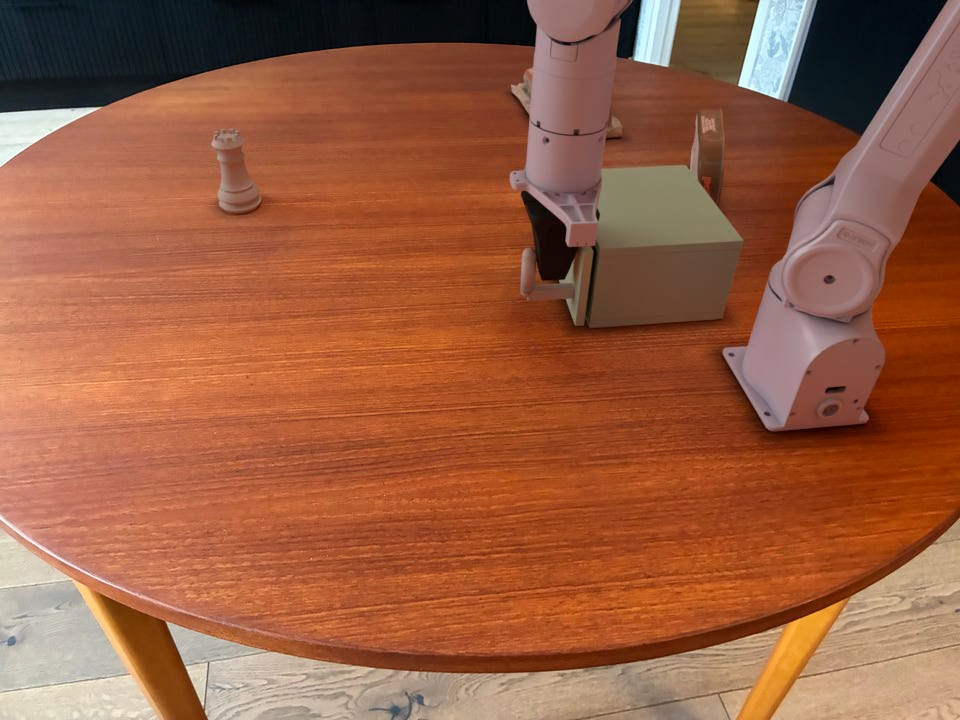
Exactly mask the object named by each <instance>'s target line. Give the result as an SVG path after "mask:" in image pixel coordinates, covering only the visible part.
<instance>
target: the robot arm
mask: <svg viewBox="0 0 960 720" xmlns="http://www.w3.org/2000/svg"><path fill="white" fill-rule="evenodd" d="M526 2H527V7H528V10H529V14H530V16H531V18H532V19H533V21H534V22H535V24H536V34H535V48H534V54H533V64H532V67H533V77H532V90H531V104H530V115H529V119H528V120H529V121H528V133H527V146H526V147H527V148H526V159H525V160H526V161H525V166H524V168H523V169H521V170H513V171H511V172H509V183H510V186H511V189H512V190H514V191H517V192H520V197H521V200H522V202H523V206H524V208H525V212H526V214H527V217H528V220H529V222H530V225H531V231H532V236H533V243H534V250H535V251H536V253H537V260H536V268H537V270H538V274H539V277H540V280H541V281H542V282H549V281H551V282H552V281H559V280H564V279H565V278H566V276H567V274H568V272H569V270H570V267H571V265H572V262H573V260H574V257H575V255H576V253H577V251H578V249H579V247H582V246H595V242H596V235H597V229H598V221H599V217H600V212H599V210H598V208H597V206H598V201H599V196H600V192H601V187H602V175H601V169H603V160H604V153H605V146H606V139H607V138H606V133H607V126H608V118H609V111H610V104H611V103H612V98H613V97H612V96H613V91H614V83H615V75H616V68H617V61H618V60H617V59H618V58H617V57H618V56H617V52H618V51H617V50H618V43H619V37H620V29H621V21H622V19H621V18H620V16H621V14H622V13H623V12H624V11H626V10H627V9H628V7H629V6H630V5H631V4H632V2H633V0H526ZM611 105H612V104H611ZM959 141H960V0H947V1H946V2H945V4H944V5H943V8H942V9H941V11H939V13H938V15H937V17H936V18H935V20H934V22H933V23H932V24H931V26H930V28H929V29H928V31H927V33H926V34H925V35H924V37H923V39H922V40H921V42H920V44H919V45H918V46H917V48H916V50H915V52H914V53H913V55H912V56H911V58H910V59H909V61H908V63H907V64H906V65H905V67H904V69H903V71H902V72H901V73H900V75H899V77H898V79H897V80H896V82H895V83H894V85H893V86H892V88H891V89H890V91H889V93H888V94H887V96H886V97H885V99H884V101H883V102H882V104H881V105H880V107H879V109H878V110H877V111H876V113H875V115H874V116H873V118H872V120H871V121H870V123H869V124H868V125H867V128H866V129H865V131H864V132H863V134H862V135H861V137H860V138H859V140H858V142H857V143H856V145H855V146H854V147H852V148H851V149H850V150H849V151H847V153H845V154H844V155H843V156H842V158H841V159H840V160H839V162H838V164H837V165H836V167H835V168H834V170H833V171H832V172H831V173H830V175H828V176H827V177H826V178H824V179H823V180H821V181H820V182H819V183H817V184H816V185H814V186H812V187H811V188H809V189H808V190H807V191H806V192H805V193H804V194H803V195H802V196H801V198H800V199H799V200H798V202H797V204H796V207H795V210H794V214H793V226H792V230H791V233H790V238H789V241H788V244H787V249H786V252H785V254H784V255H783V257H782V258H781V259H780V260H779V261H777V262H776V263H775V264H774V265H772V267H771V269H770V271H769V275H768V278H767V282H766V284H765V287H764V291H763V295H762V297H761V301H760V304H759V307H758V311H757V313H756V316H755V320H754V323H753V327H752V329H751V333H750V337H749V340H748V343H747V345H744V346H743V345H742V346H728V347H724V348H723V349H722V353H721V354H722V356H723V358H724V359H725V361H726V363H727V365H728V366H729V368H730V369H731V371H732V373H733V375H734V377H736V379H737V382H738V383H739V385H740V387H741V388H742V390H743V392H744V393H745V395H746V397H747V398H748V400H749V402H750V403H751V405H752V407H753V408H754V410H755V412H756V413H757V415H758V417H759V418H760V420H761V422H762V423H763V426H764V427H765V428H766V429H767V430H768V431H769V432H782V431H783V432H784V431H794V430H806V429H807V430H808V429H816V428H827V427H828V428H829V427H838V426H839V427H840V426H852V425H863V424H867V422H868V421H869V419H870V417H869V415H868V413H867V411H865V409H864V408H865V406H866V404H867V402H868V400H869V397H870V395H871V394H872V391H873V389H874V387H875V385H876V383H877V380H878V379H879V376H880V374H881V372H882V370H883V367H884V365H885V363H886V350H885V347H884V345H883V343H882V342H881V340H880V338H879V337H878V334H877V331H876V330H875V327H874V322H873V321H874V320H873V304H874V302H875V300H876V299H877V297H878V296H879V295H880V292H881V291H882V289H883V286H884V283H885V275H886V265H887V262H888V259H889V257H890V255H891V254H892V252H893V251H894V249H895V248H896V247H897V246H898V244H899V243H900V241H901V239H902V237H903V235H904V233H905V231H906V229H907V226H908V223H909V221H910V219H911V216H912V214H913V212H914V209H915V207H916V204H917V202H918V200H919V197H920V195H921V194H922V192H923V190H924V189H925V188H926V186H927V185H928V183H930V181H931V179H932V178H933V176H934V175H935V174H936V172H938V170H939V168H940V167H941V166H942V165H943V163H944V162H945V160H946V159H947V157H948V156H949V155H950V153H951V152H952V151H953V150H954V149H955V147H956V145H957V144H958V142H959Z"/></svg>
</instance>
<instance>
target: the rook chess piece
mask: <svg viewBox="0 0 960 720" xmlns="http://www.w3.org/2000/svg"><path fill="white" fill-rule="evenodd" d="M212 136H213V139H212V141H211V144H210V145H211V146H212V148H213V149H214V150H215V151H217V156H216V160H217V161H218V162H219V166H220V177H221V178H220V179H221V181H220V183H219V188H218V190H217V198H218V206H219V208H221V209H222V210H223V211H225V212H227V213H230V214H234V215H235V214H236V215H237V214H246V213H250V212H252V211H254V210H256V209H257V208H258V207H259V206H260V204H261V202H262V196H261V195H260V189H259V187H258V185H257V184H256V183H254V180H253V178H251V176H250V174H249V172H248V169H247V167H246V166H247V165H246V162H245V156H246V154H245V152H244V151H243V149H242V148H243V146H244V144H245V142H246V141H245V139H244V137H242V136H241V134H240V131H239V129H237V130H236V129H235V128H231V127H230V128H229V132H227V129H226V128H220V131H219V130H215V131H214V132H213V135H212Z"/></svg>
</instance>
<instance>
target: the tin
mask: <svg viewBox="0 0 960 720" xmlns="http://www.w3.org/2000/svg"><path fill="white" fill-rule="evenodd" d="M723 113H724V112H723V108H721V107H720V108H699V109H697V110H696V114H695V118H694V120H695V130H694V136H693V143H692V145H691V149H690V157H689V170H690V171H691V172H692V174H693V175H694V176H695V178H696V179H697V180H698V181H699V183H700V184H701V185H702V187H703V188H704V189H705V191H706V192H707V193H708V195H709V196H710V197H711V198H712V200H713V201H714V202H715V204H716V205H717V206H718V207H719V204H720V200H721V194H722V187H723V180H724V173H725V160H726V134H725V124H724V114H723Z"/></svg>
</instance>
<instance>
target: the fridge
mask: <svg viewBox="0 0 960 720" xmlns="http://www.w3.org/2000/svg"><path fill="white" fill-rule="evenodd" d="M601 175H602V187H601V192H600V196H599V201H598V206H597V208H598V210H599V212H600V217H599V221H598V229H597V235H596V242H595V246H591V248H592V250H593V259H592V267H591V275H590V282H589V290H588V298H587V305H586V313H585V321H586V322H587V325H588V327H589V329H598V328H599V329H600V328H612V327H627V326H640V325H641V326H643V325H655V324H658V325H659V324H672V323H685V322H699V321H714V320H722V319H724V318H723V317H724V314H725V310H726V306H727V303H728V299H729V296H730V292H731V288H732V284H733V281H734V278H735V274H736V270H737V266H738V262H739V260H740V256H741V253H742V252H741V251H742V248H743V245H744V239H743V238H742V236H741V234H739V232H738V231H737V230H736V228H735V227H734V226H733V224H732V223H731V222H730V220H729V219H728V218H727V217H726V215H725V214H724V212H723V211H722V210H721V209H720V207H719V205H718V206H717V205H716V204H715V202H714V201H713V200H712V198H711V197H710V196H709V195H708V193H707V192H706V191H705V189H704V188H703V187H702V185H701V184H700V183H699V181H698V180H697V179H696V178H695V176H694V175H693V174H692V172H691V171H690V167H688V166H687V165H686V164H675V165H671V164H670V165H651V166H650V165H649V166H629V167H609V168H601Z"/></svg>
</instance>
